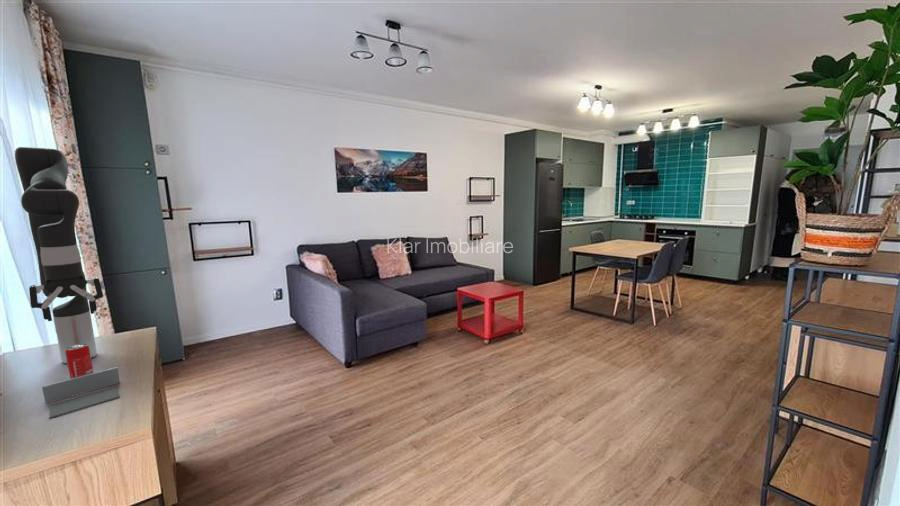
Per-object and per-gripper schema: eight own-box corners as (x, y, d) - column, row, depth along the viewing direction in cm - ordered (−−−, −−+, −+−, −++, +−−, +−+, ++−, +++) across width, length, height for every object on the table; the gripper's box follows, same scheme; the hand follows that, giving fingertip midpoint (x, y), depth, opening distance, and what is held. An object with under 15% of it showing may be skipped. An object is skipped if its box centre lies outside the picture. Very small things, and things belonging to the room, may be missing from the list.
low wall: (45, 402, 105) (42, 385, 104) (119, 381, 116) (117, 366, 116) (45, 403, 104) (42, 387, 103) (119, 382, 116) (117, 367, 115)
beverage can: (79, 386, 113) (73, 350, 112) (67, 385, 114) (60, 349, 113) (98, 378, 118) (92, 343, 117) (86, 377, 119) (80, 342, 118)
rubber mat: (50, 405, 103) (50, 404, 103) (116, 386, 113) (116, 385, 113) (49, 418, 97) (49, 417, 97) (120, 397, 107) (119, 396, 107)
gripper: (96, 256, 110) (104, 308, 112) (24, 263, 99) (35, 319, 102) (98, 260, 105) (106, 313, 107) (22, 267, 94) (34, 326, 97)
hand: (71, 316), depth 105 cm, fingers open, 8 cm apart
